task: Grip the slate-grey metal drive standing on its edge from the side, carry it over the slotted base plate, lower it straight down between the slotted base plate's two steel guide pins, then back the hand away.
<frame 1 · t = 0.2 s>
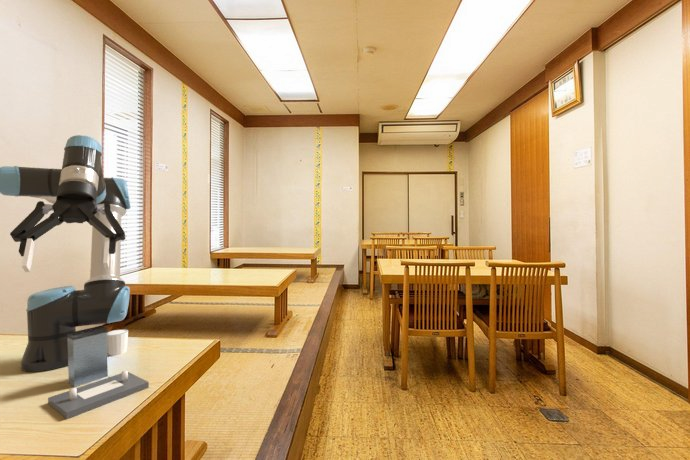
hand: (67, 267, 75), 35 cm above the table, tool tilted 35°, fingers open, 13 cm apart
drive: (88, 379, 99), on the table
white cylinder: (117, 353, 119), on the table
slotted base plate: (100, 395, 90), on the table
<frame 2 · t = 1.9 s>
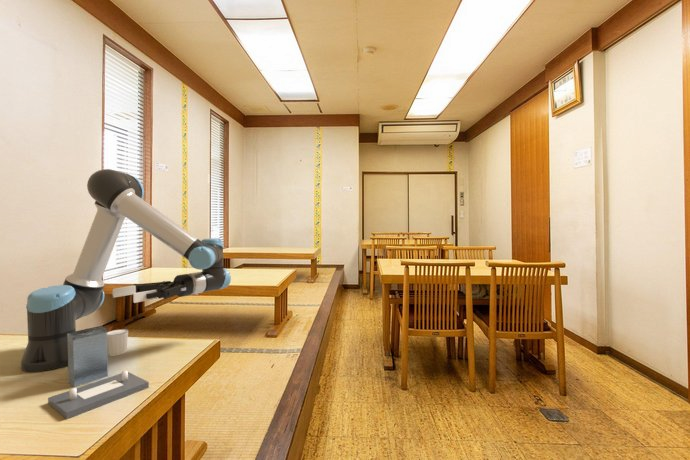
hand: (122, 295, 106), 22 cm above the table, tool horizontal, fingers open, 13 cm apart
nothing on the table moved.
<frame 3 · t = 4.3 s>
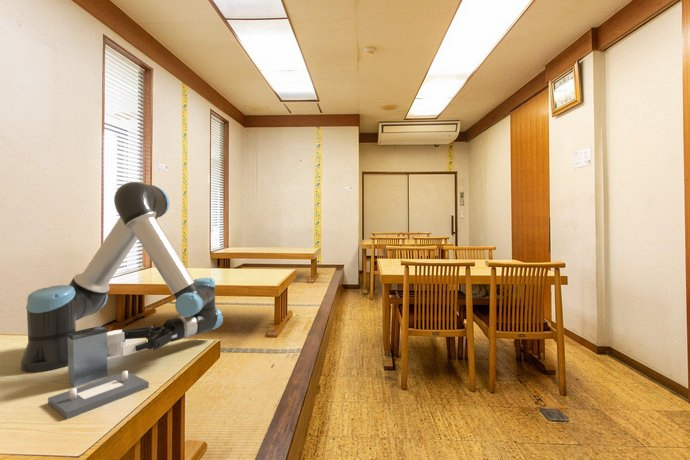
hand: (111, 346, 103), 8 cm above the table, tool horizontal, fingers open, 13 cm apart
nothing on the table moved.
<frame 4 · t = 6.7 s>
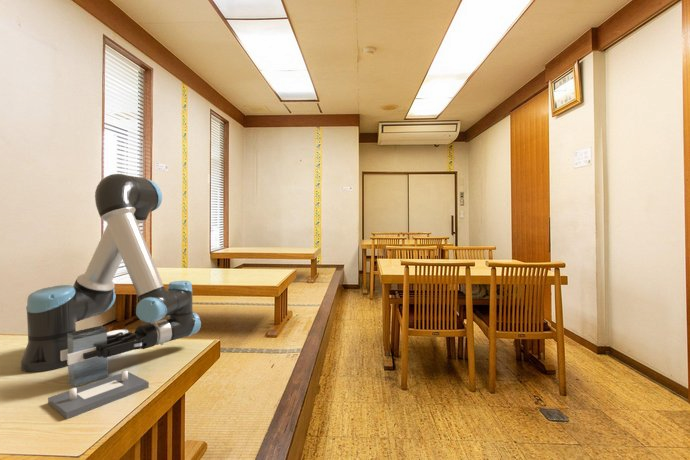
hand: (64, 357, 94), 8 cm above the table, tool horizontal, fingers closed on drive, 4 cm apart
drive: (88, 379, 99), on the table, touching gripper
everything else where it was.
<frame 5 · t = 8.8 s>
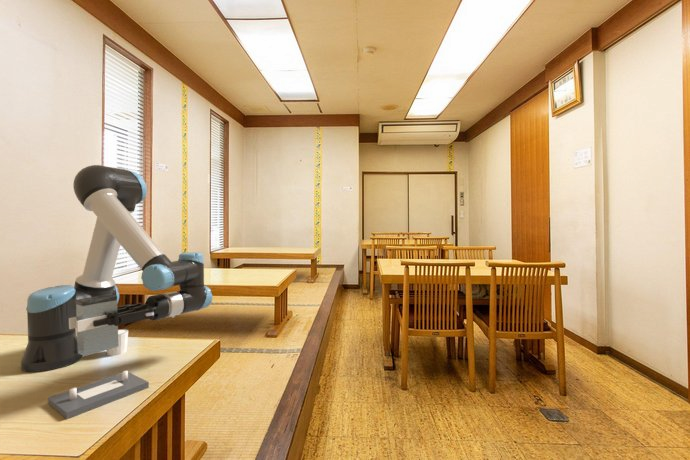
hand: (73, 325, 89), 18 cm above the table, tool horizontal, fingers closed on drive, 4 cm apart
drive: (98, 349, 94), point 10 cm above the table, touching gripper
everything else where it was.
when the fingers open (10 cm above the table, at t = 11.2 s): drive stays where it is, resting on slotted base plate.
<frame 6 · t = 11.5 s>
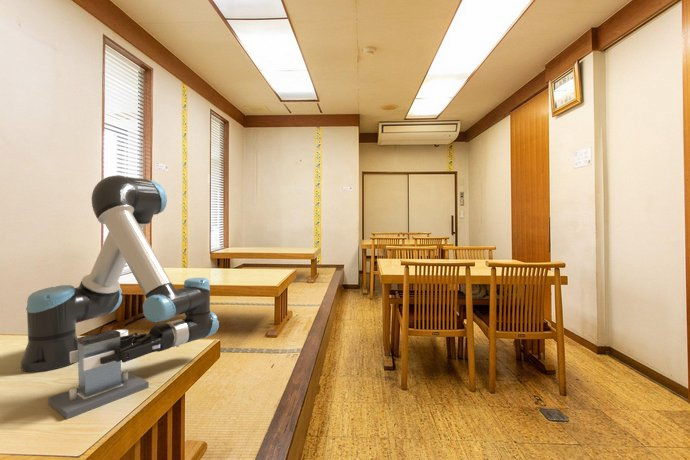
hand: (76, 361, 85), 10 cm above the table, tool horizontal, fingers open, 7 cm apart
drive: (100, 389, 90), point 2 cm above the table, touching slotted base plate
everything else where it was.
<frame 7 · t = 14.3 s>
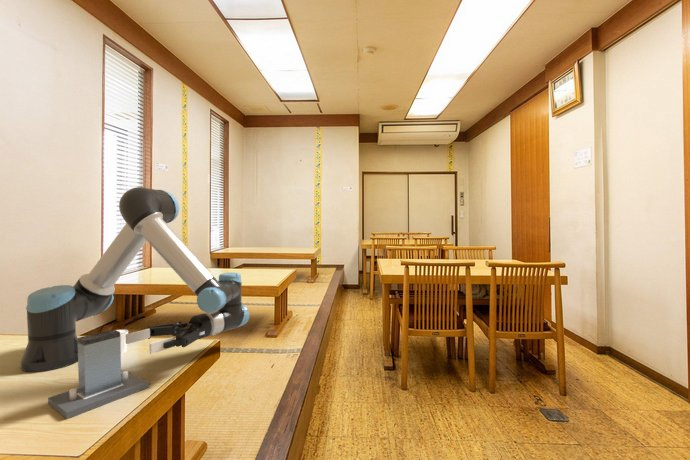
hand: (137, 343, 97), 11 cm above the table, tool horizontal, fingers open, 13 cm apart
nothing on the table moved.
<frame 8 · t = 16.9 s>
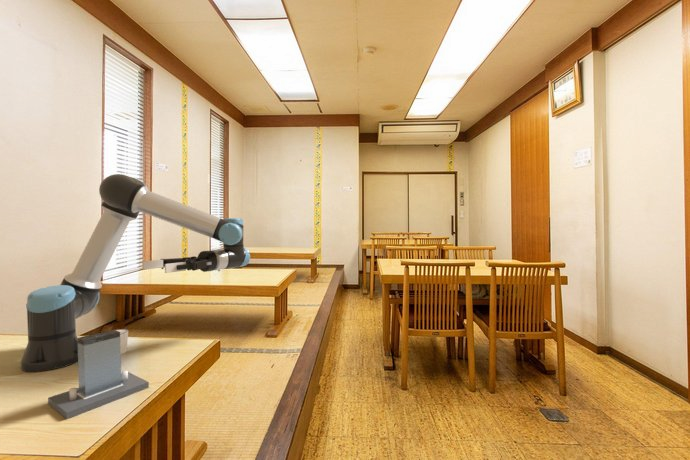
hand: (153, 267, 111), 30 cm above the table, tool horizontal, fingers open, 13 cm apart
nothing on the table moved.
at the end: drive 0.0 cm off-centre on the slotted base plate, point 1.6 cm above the slotted base plate's base; drive tilted 0°; the gripper is holding nothing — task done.
